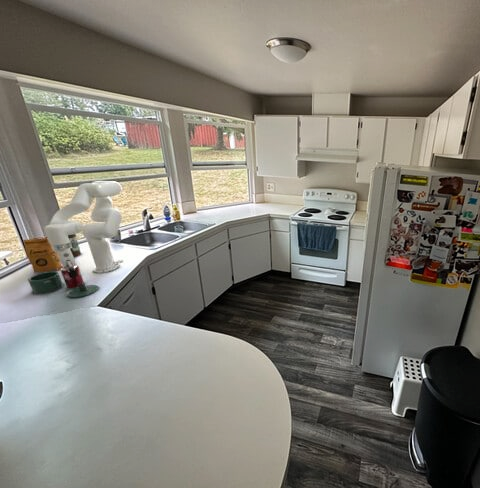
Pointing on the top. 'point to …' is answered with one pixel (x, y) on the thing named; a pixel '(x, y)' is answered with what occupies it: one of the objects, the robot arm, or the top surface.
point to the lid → (83, 290)
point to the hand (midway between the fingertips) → (71, 275)
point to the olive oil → (74, 245)
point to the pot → (45, 282)
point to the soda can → (72, 282)
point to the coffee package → (42, 255)
